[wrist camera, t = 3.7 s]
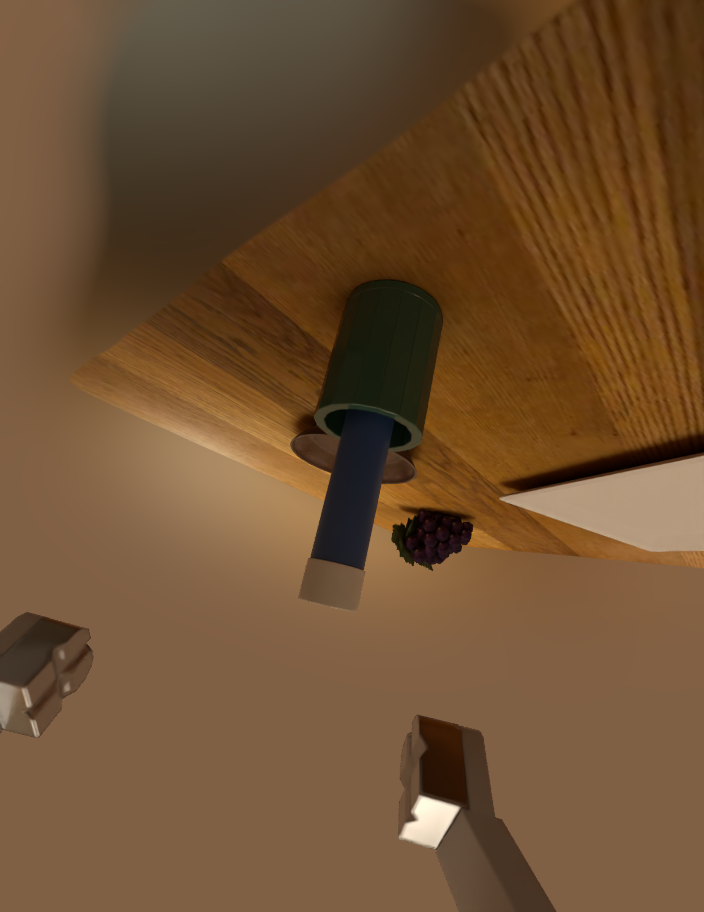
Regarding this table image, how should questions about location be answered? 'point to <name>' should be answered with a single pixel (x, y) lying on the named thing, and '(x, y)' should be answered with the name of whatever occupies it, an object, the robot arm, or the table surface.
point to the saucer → (324, 447)
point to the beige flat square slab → (631, 504)
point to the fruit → (430, 538)
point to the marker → (348, 512)
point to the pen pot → (383, 360)
